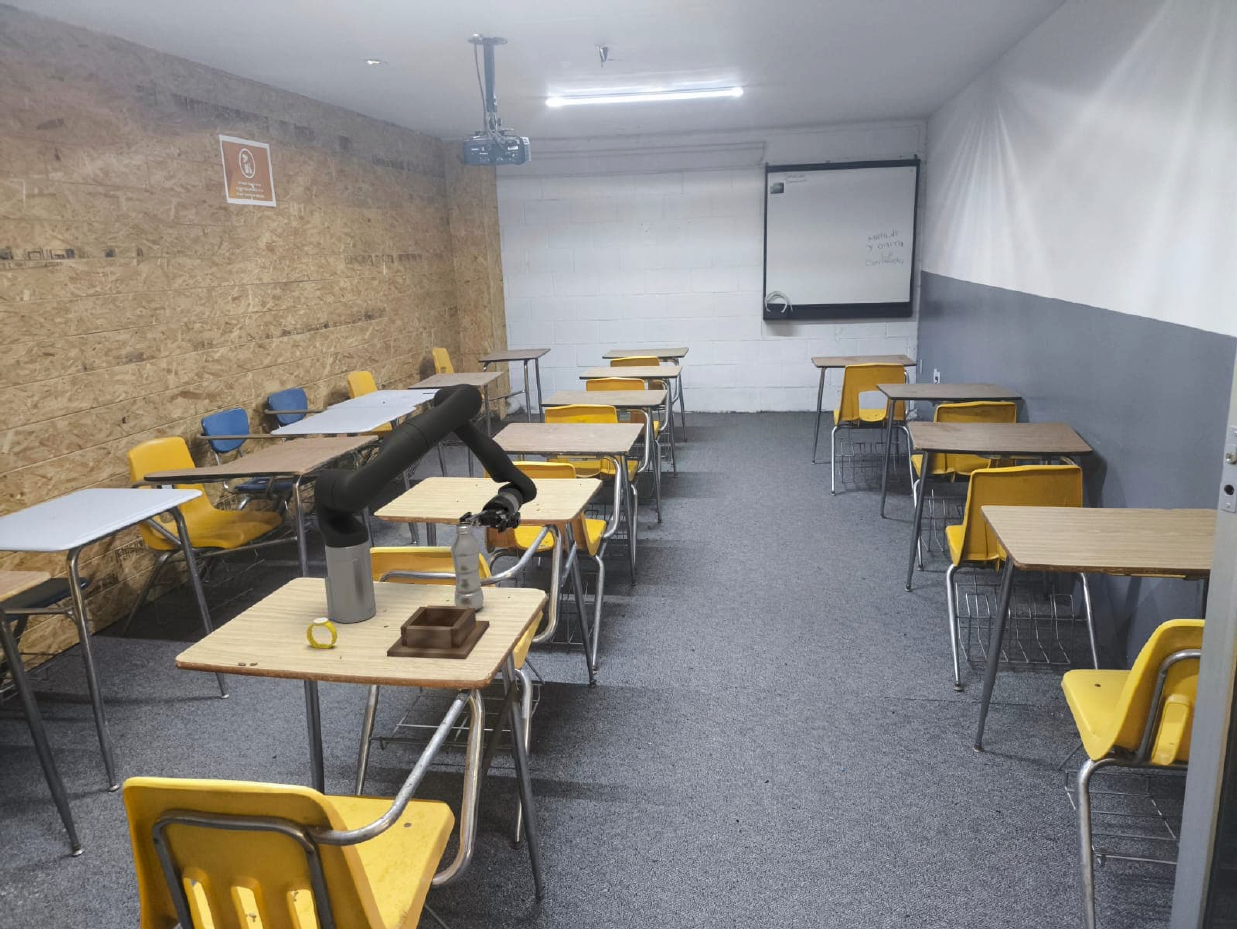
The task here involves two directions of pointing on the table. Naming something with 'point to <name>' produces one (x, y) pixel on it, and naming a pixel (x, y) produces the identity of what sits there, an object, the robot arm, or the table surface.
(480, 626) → the bottle rack
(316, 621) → the watch
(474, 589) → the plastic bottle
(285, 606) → the table surface
